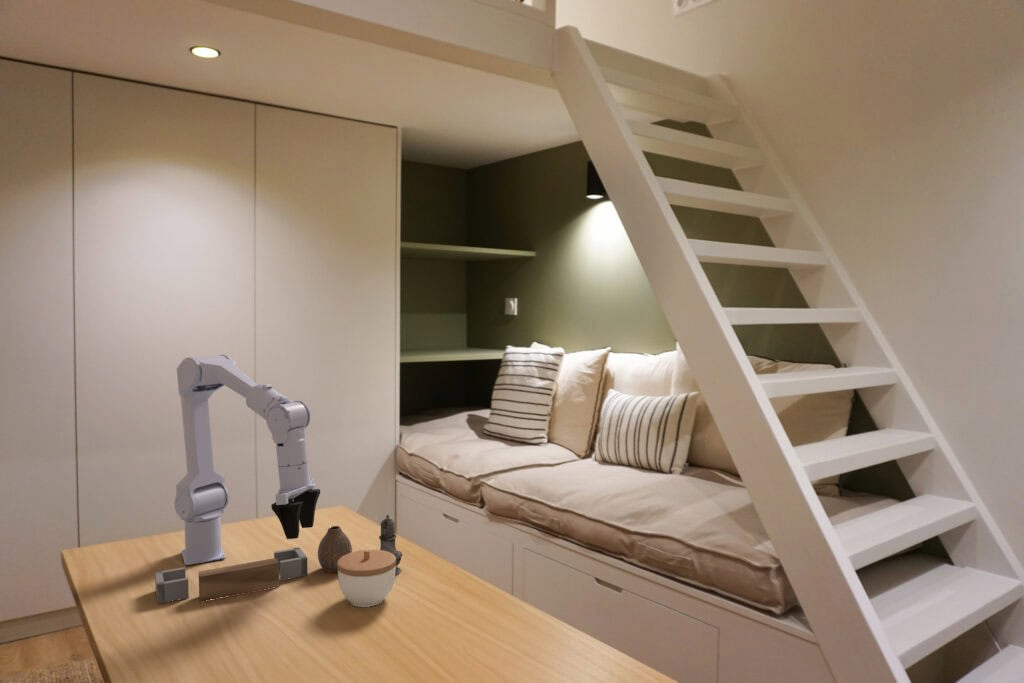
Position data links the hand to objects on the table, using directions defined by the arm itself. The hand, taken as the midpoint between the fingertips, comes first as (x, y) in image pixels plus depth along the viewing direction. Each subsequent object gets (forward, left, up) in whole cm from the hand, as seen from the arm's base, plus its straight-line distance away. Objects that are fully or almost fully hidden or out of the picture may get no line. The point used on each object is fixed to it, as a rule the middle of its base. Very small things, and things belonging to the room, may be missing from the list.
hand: (300, 532), depth 137 cm
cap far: (-7, -1, -10) cm, 12 cm away
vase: (-4, +8, -10) cm, 14 cm away
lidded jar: (+14, +9, -10) cm, 20 cm away
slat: (-2, -11, -10) cm, 15 cm away
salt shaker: (+3, +17, -10) cm, 20 cm away
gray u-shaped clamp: (-7, -22, -10) cm, 26 cm away
